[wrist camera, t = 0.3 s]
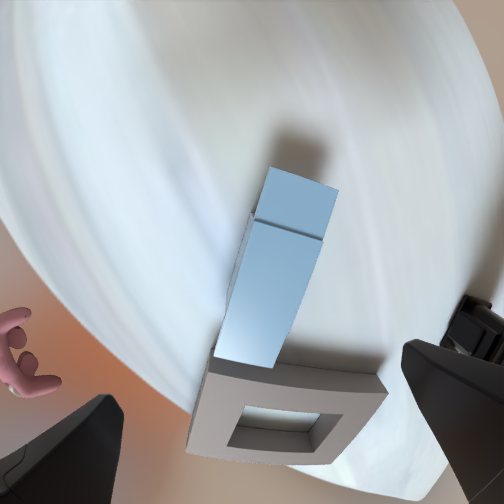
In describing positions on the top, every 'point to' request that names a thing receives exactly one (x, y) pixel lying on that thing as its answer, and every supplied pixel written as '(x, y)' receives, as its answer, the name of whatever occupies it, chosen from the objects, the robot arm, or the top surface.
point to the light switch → (280, 398)
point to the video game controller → (21, 359)
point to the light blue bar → (274, 267)
